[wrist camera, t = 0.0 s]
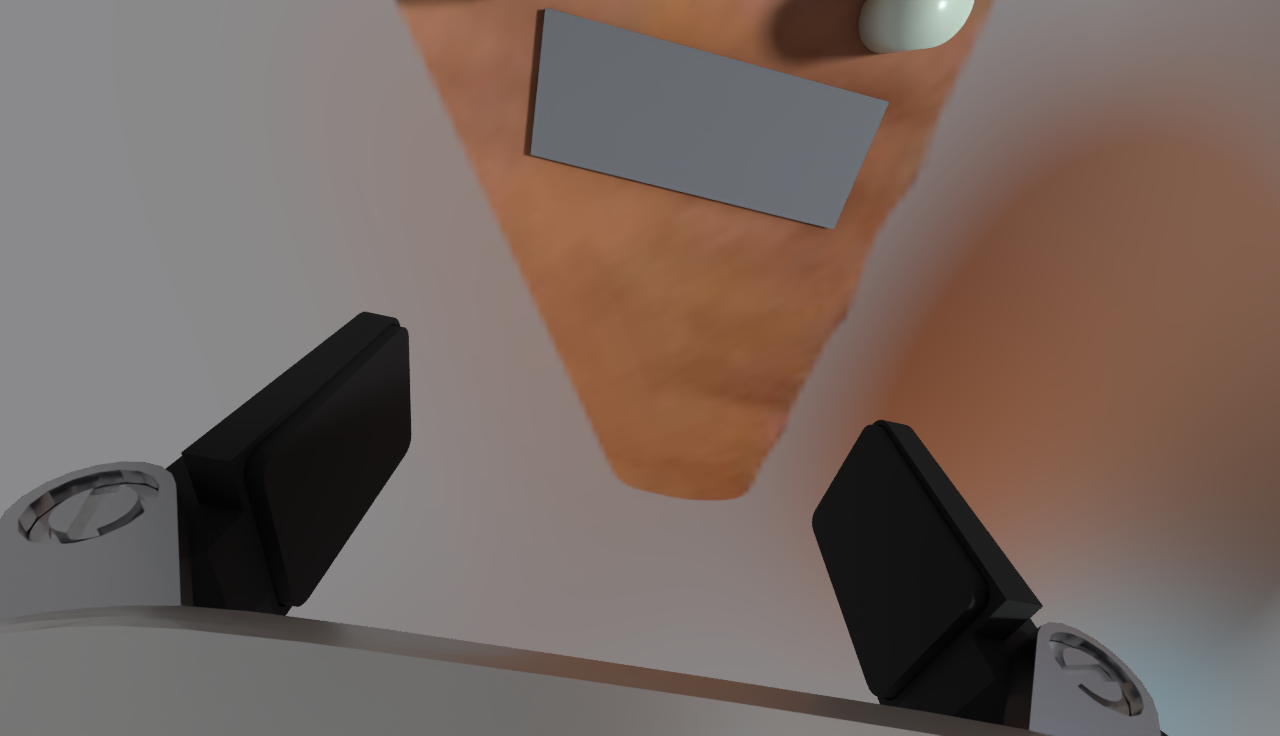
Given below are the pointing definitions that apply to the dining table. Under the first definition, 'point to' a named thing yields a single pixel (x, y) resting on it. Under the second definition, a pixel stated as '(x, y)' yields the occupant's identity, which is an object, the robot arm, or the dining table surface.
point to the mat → (698, 121)
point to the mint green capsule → (910, 23)
